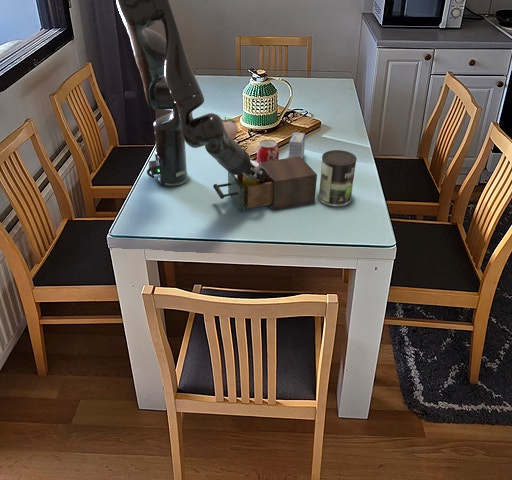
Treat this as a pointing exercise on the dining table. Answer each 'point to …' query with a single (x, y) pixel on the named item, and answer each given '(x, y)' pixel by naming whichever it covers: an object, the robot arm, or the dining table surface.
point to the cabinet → (291, 182)
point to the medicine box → (297, 145)
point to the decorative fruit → (230, 127)
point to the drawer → (255, 193)
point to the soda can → (267, 151)
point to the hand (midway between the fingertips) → (255, 178)
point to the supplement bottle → (249, 179)
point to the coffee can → (337, 177)
